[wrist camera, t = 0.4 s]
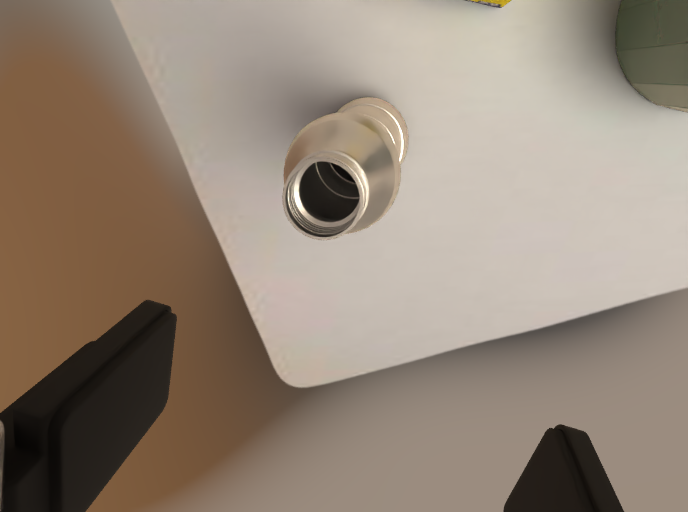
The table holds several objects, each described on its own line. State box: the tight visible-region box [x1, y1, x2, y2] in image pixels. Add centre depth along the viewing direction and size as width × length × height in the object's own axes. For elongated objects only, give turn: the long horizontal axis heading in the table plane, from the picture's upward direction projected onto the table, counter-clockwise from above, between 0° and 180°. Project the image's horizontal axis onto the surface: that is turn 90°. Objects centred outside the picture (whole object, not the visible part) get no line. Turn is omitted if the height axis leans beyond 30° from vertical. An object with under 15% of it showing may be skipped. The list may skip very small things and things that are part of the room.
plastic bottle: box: [282, 97, 409, 240], centre depth 28 cm, size 6×7×20 cm
